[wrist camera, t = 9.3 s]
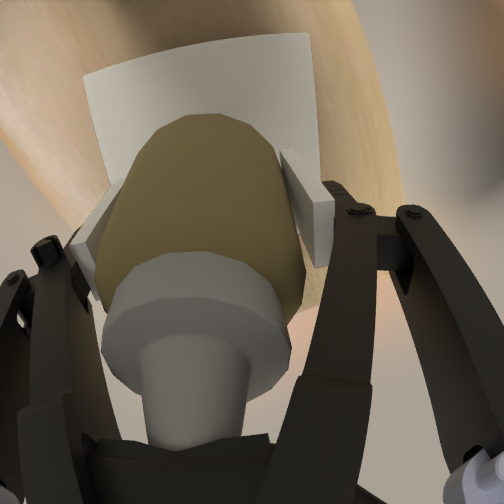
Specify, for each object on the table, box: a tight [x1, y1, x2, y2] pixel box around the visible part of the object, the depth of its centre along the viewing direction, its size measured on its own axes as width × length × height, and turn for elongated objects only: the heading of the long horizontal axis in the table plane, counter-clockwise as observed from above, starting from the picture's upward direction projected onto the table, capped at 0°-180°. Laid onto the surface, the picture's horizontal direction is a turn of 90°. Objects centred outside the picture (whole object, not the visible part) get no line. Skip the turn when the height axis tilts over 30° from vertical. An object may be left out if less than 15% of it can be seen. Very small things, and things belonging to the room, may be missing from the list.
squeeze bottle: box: [94, 113, 306, 451], centre depth 11 cm, size 8×8×18 cm
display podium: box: [83, 32, 321, 234], centre depth 24 cm, size 16×16×5 cm
